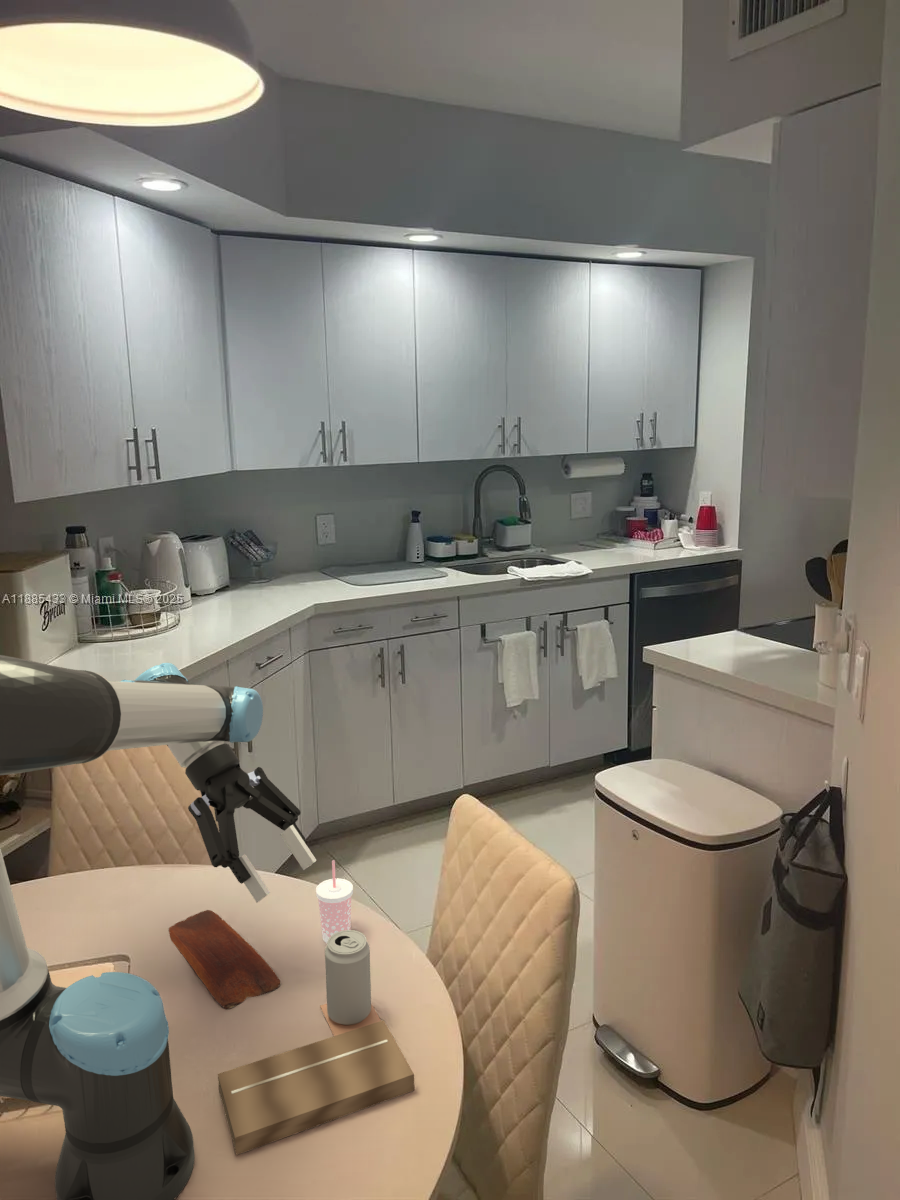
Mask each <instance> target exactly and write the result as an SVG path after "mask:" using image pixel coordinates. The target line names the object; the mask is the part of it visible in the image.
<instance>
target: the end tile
mask: <svg viewBox="0 0 900 1200" xmlns="http://www.w3.org/2000/svg"><path fill="white" fill-rule="evenodd" d="M319 1008H320V1010H321V1012H322V1015H323V1016H324V1018H325V1021H326V1022H327V1024H328V1027H329V1029H330V1031H331V1033H332V1037H333V1036H336V1035H339V1034H342V1033H346V1032H349V1031H352V1030H355V1029H358V1028H361V1027H364V1026H367V1025H370V1024H373V1023H377V1022H380V1021H382V1020H381V1018H380V1016H379V1014H378V1013H377V1011H376V1010H375V1007H374V1005H373V1004H372V1003H371V1011H370V1013H369V1015H368V1016H367V1017H366V1018H365V1019H364V1020H362V1021H361V1022H359V1023H357V1024H354V1025H342V1024H339V1023H336V1022H334V1021H333V1020H332V1019H331V1018H330V1017H329V1015H328V1013H327V1003H324V1004H321V1005H319Z"/></svg>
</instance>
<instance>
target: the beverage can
mask: <svg viewBox="0 0 900 1200" xmlns="http://www.w3.org/2000/svg"><path fill="white" fill-rule="evenodd" d="M370 949H371V947H370V944H369V942H368V939H367V937H366V935H365V934H364V933H362V931H361V932H360V931H359V930H356V929H355V930H354V929H350V930H343V931H339V932H337V933H335V934H333V935H332V936H331V937H330V938H329V939H328V941H327V943H326V946H325V949H324V963H325V964H324V965H325V989H326V1004H327V1013H328V1015H329V1017H330V1018H331V1019H332V1020H333V1021H334V1022H336V1023H339V1024H342V1025H354V1024H357V1023H359V1022H361V1021H362V1020H364V1019H365V1018H366V1017H367V1016H368V1015H369V1013H370V1011H371V1004H372V992H371V991H372V990H371V989H372V988H371V987H372V985H371V953H370V951H371V950H370Z"/></svg>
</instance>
